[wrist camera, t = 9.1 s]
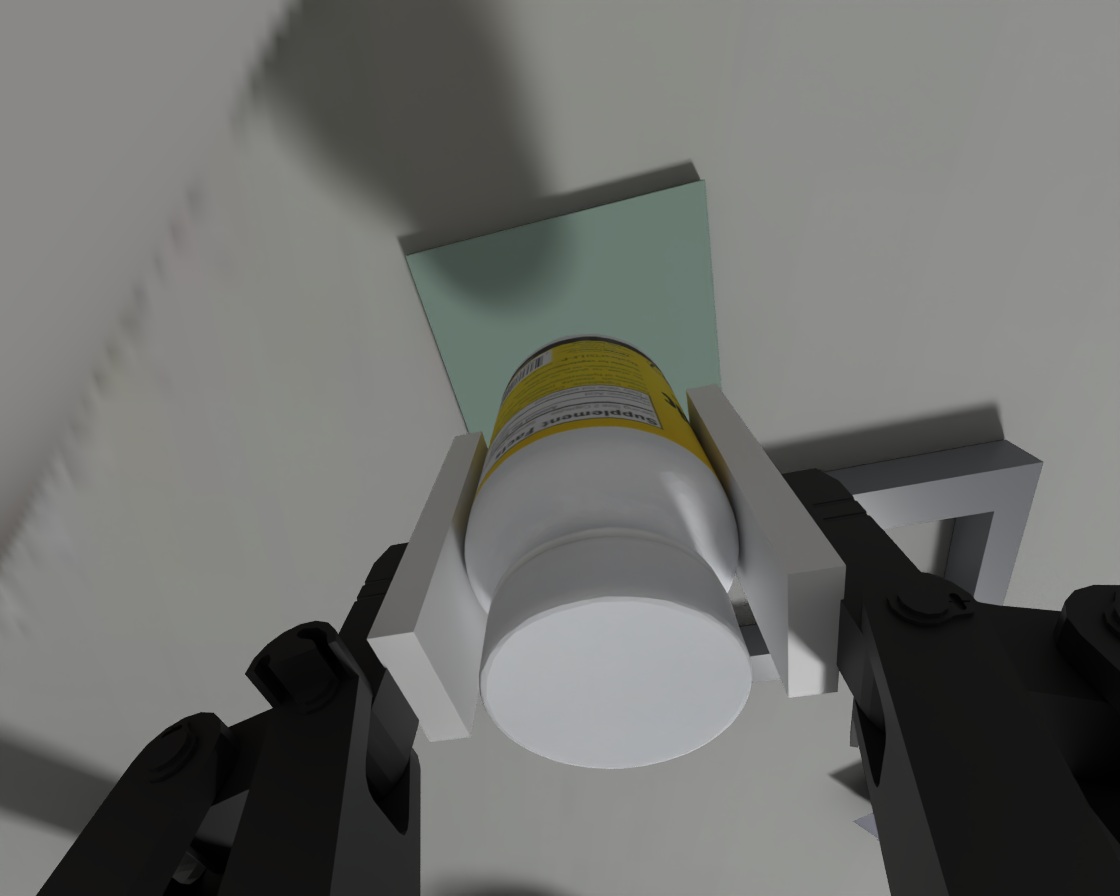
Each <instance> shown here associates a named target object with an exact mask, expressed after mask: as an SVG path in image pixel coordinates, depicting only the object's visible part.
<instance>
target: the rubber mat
mask: <svg viewBox="0 0 1120 896" xmlns="http://www.w3.org/2000/svg"><path fill="white" fill-rule="evenodd" d="M406 259H407V262H408V265H409V267H410V270H411V273H412V276H413V278H414V281H415V284H416V287H417V290H418V292H419V295H420V298H421V301H422V303H423V306H424V309H425V312H426V315H427V317H428V320H429V323H430V326H431V328H432V331H433V334H434V337H435V339H436V342H437V345H438V348H439V351H440V353H441V356H442V359H443V362H444V364H445V367H446V370H447V373H448V376H449V378H450V381H451V384H452V387H453V389H454V392H455V395H456V398H457V400H458V403H459V406H460V409H461V412H462V414H463V417H464V420H465V423H466V425H467V428H468V431H469V434H471V433H476V432H481V431H482V433H483V436H484V439H485V442H486V444H487V447H488V448H489V445H490V440H491V437H492V434H493V430H494V425H495V423H496V419H497V415H498V411H499V408H500V404H501V401H502V397H503V394H504V392H505V389H506V387H507V385H508V383H509V381H510V379H511V377H512V375H513V374H514V372H515V371H516V369H517V368H518V367H519V365H520V364H521V363H522V362H523V361H524V360H525V359H526V358H527V357H528V356H529V355H530V354H532V353H533V352H534V351H536V350H537V349H539V348H540V347H542V346H543V345H545V344H547V343H549V342H551V341H554V340H556V339H559V338H562V337H567V336H571V335H578V334H600V335H606V336H611V337H615V338H618V339H621V340H623V341H626V342H628V343H630V344H632V345H634V346H636V347H637V348H639V349H640V350H641V351H643V352H644V353H645V354H647V355H648V356H649V357H650V358H651V359H652V360H653V361H654V362H655V364H656V365H657V366H658V367H659V369H660V370H661V372H662V373H663V375H664V376H665V378H666V380H667V381H668V383H669V384H670V386H671V388H672V390H673V392H674V394H675V396H676V398H677V400H678V402H679V404H680V406H681V408H682V410H683V412H684V414H685V416H686V418H687V420H688V421H689V414H688V405H687V396H686V389H691V388H696V387H701V386H706V385H711V384H717V385H718V387H719V388H720V390H721V378H720V365H719V352H718V339H717V327H716V314H715V301H714V288H713V275H712V262H711V249H710V237H709V224H708V211H707V198H706V185H705V180H698V181H694V182H690V183H686V184H682V185H678V186H674V187H671V188H667V189H663V190H659V191H655V192H651V193H647V194H643V195H639V196H635V197H631V198H628V199H624V200H620V201H616V202H612V203H608V204H604V205H600V206H596V207H592V208H588V209H585V210H581V211H577V212H573V213H569V214H565V215H561V216H557V217H553V218H549V219H545V220H542V221H538V222H534V223H530V224H526V225H522V226H518V227H514V228H510V229H506V230H503V231H499V232H495V233H491V234H487V235H483V236H479V237H475V238H471V239H467V240H463V241H460V242H456V243H452V244H448V245H444V246H440V247H436V248H432V249H428V250H424V251H420V252H417V253H413V254H409V255H407V256H406ZM689 423H690V422H689Z"/></svg>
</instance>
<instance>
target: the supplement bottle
mask: <svg viewBox="0 0 1120 896" xmlns="http://www.w3.org/2000/svg"><path fill="white" fill-rule="evenodd" d="M738 556H739V535H738V528H737V523H736V519H735V515H734V512H733V509H732V507H731V504H730V502H729V500H728V497H727V495H726V493H725V490H724V488H723V486H722V484H721V482H720V480H719V478H718V476H717V475H716V473H715V471H714V469H713V467H712V465H711V463H710V461H709V460H708V458H707V456H706V454H705V452H704V450H703V448H702V447H701V445H700V443H699V441H698V439H697V437H696V435H695V432H694V430H693V429H692V427H691V425H690V423H689V421H688V420H687V418H686V416H685V414H684V412H683V410H682V408H681V406H680V404H679V402H678V400H677V398H676V396H675V394H674V392H673V390H672V388H671V386H670V384H669V383H668V381H667V380H666V378H665V376H664V375H663V373H662V372H661V370H660V369H659V367H658V366H657V365H656V364H655V362H654V361H653V360H652V359H651V358H650V357H649V356H648V355H647V354H645V353H644V352H643V351H641V350H640V349H639V348H637V347H636V346H634V345H632V344H630V343H628V342H626V341H623V340H621V339H618V338H615V337H611V336H606V335H600V334H578V335H571V336H567V337H562V338H559V339H556V340H554V341H551V342H549V343H547V344H545V345H543V346H542V347H540V348H539V349H537V350H536V351H534V352H533V353H532V354H530V355H529V356H528V357H527V358H526V359H525V360H524V361H523V362H522V363H521V364H520V365H519V367H518V368H517V369H516V371H515V372H514V374H513V375H512V377H511V379H510V381H509V383H508V385H507V387H506V389H505V392H504V394H503V397H502V401H501V404H500V408H499V411H498V415H497V419H496V423H495V425H494V430H493V434H492V437H491V440H490V445H489V448H488V452H487V455H486V459H485V463H484V466H483V471H482V474H481V478H480V480H479V484H478V488H477V491H476V495H475V498H474V502H473V505H472V508H471V512H470V516H469V521H468V526H467V532H466V537H465V563H466V570H467V574H468V578H469V581H470V584H471V587H472V589H473V591H474V594H475V596H476V598H477V599H478V601H479V603H480V605H481V606H482V608H483V609H484V610H485V612H486V613H487V615H488V618H487V624H486V630H485V637H484V643H483V650H482V656H481V663H480V670H479V688H480V695H481V698H482V701H483V704H484V707H485V709H486V711H487V713H488V714H489V716H490V717H491V719H492V720H493V722H494V723H495V724H496V726H497V727H498V728H499V729H500V730H501V731H502V732H503V733H505V734H506V735H507V736H508V737H509V738H510V739H511V740H513V741H514V742H516V743H517V744H519V745H521V746H522V747H524V748H526V749H527V750H529V751H531V752H534V753H536V754H538V755H540V756H543V757H545V758H548V759H551V760H554V761H558V762H561V763H565V764H570V765H575V766H582V767H589V768H603V769H619V768H629V767H639V766H645V765H650V764H655V763H659V762H664V761H668V760H670V759H673V758H676V757H679V756H682V755H685V754H687V753H689V752H691V751H694V750H696V749H698V748H700V747H701V746H703V745H705V744H706V743H708V742H709V741H711V740H712V739H714V738H715V737H717V736H718V735H719V734H721V733H722V732H723V731H724V730H725V729H726V728H727V727H729V726H730V724H731V723H732V722H733V721H734V720H735V719H736V718H737V716H738V715H739V713H740V712H741V710H742V709H743V707H744V705H745V703H746V701H747V698H748V696H749V693H750V688H751V682H752V665H751V660H750V655H749V652H748V649H747V647H746V644H745V641H744V639H743V636H742V633H741V631H740V628H739V625H738V623H737V620H736V617H735V613H734V610H733V606H732V603H731V600H730V598H729V596H728V594H727V593H728V591H729V589H730V587H731V584H732V582H733V579H734V576H735V572H736V568H737V564H738Z"/></svg>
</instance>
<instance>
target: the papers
mask: <svg viewBox="0 0 1120 896" xmlns="http://www.w3.org/2000/svg"><path fill="white" fill-rule="evenodd" d="M854 822H855V823H856V824H858V825H859V826H861V827H862V828H864V829H865V830H867V831H868V832H870V833H871V834H872V835H874V836H875V837H877V838H878V839H877V840H878V841H879V837H878V832H877V828H876V823H875V818H874V814H873V813H872V814H869V815H867V816H864V817H862V818H859V819H857V820H855V821H854Z"/></svg>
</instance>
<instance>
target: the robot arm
mask: <svg viewBox="0 0 1120 896" xmlns="http://www.w3.org/2000/svg"><path fill="white" fill-rule="evenodd" d="M686 396H687V405H688V414H689V422H690V425H691V427H692V429H693V430H694V432H695V435H696V437H697V439H698V441H699V443H700V445H701V447H702V448H703V450H704V452H705V454H706V456H707V458H708V460H709V461H710V463H711V465H712V467H713V469H714V471H715V473H716V475H717V476H718V478H719V480H720V482H721V484H722V486H723V488H724V490H725V493H726V495H727V497H728V500H729V502H730V504H731V507H732V509H733V512H734V515H735V519H736V523H737V528H738V535H739V556H738V564H737V568H736V574H737V577H738V579H739V581H740V584H741V586H742V589H743V591H744V593H745V596H746V598H747V600H748V603H749V605H750V608H751V610H752V612H753V615H754V617H755V619H756V622H757V624H758V626H759V629H760V631H761V634H762V636H763V638H764V641H765V643H766V645H767V648H768V650H769V653H770V655H771V657H772V660H773V662H774V664H775V667H776V669H777V671H778V674H779V676H780V679H781V681H782V683H783V686H784V688H785V690H786V693H787V695H788V698H790V697H799V696H807V695H815V694H823V693H831V692H838V677H839V670H840V672H841V674H842V676H843V678H844V680H845V681H846V683H847V685H848V687H849V689H850V691H851V692H852V694H853V696H854V699H853V710H852V720H851V731H850V746H852V747H858V745H859V749H860V753H861V758H862V763H863V767H864V772H865V777H866V781H867V786H868V791H869V795H870V800H871V804H872V809H873V814H874V818H875V823H876V828H877V832H878V837H879V842H880V846H881V851H882V856H883V860H884V865H885V870H886V874H887V879H888V883H889V888H890V893H891V896H1120V585H1092V586H1088V587H1085V588H1081V589H1078V590H1075V591H1074V592H1073V593H1072V594H1071V595H1070V596H1069V597H1068V598H1067V600H1066V601H1065V603H1064V605H1063V608H1062V611H1052V610H1041V609H1031V608H1020V607H1010V606H1000V605H994V604H988V603H982V602H978V601H976V600H975V599H974V597H973V596H972V595H971V594H970V593H968V592H967V591H965V590H964V589H962V588H961V587H959V586H957V585H956V584H954V583H953V582H951V581H949V580H946V579H943V578H940V577H938V576H935V575H932V574H930V573H923V572H920V571H919V570H918V569H917V567H916V566H915V565H914V564H913V563H912V562H911V561H910V560H909V558H908V557H907V556H906V555H905V554H904V553H903V552H902V551H901V549H900V548H899V547H898V546H897V545H896V544H895V543H894V542H893V540H892V539H891V538H890V537H889V536H888V535H887V534H886V533H885V531H884V530H883V529H882V528H881V527H880V526H879V525H878V524H877V523H876V521H875V520H874V519H873V518H872V517H871V516H870V515H867V511H866V510H865V509H864V508H863V507H862V506H861V505H860V503H859V502H858V501H855V500H854V497H853V496H852V494H851V493H850V492H849V491H848V490H847V489H846V488H845V487H844V486H843V484H842V483H841V482H840V481H839V480H837V479H835V478H833V477H831V476H829V475H827V474H826V473H824V472H822V471H820V470H818V469H816V468H814V469H809V470H803V471H797V472H792V473H786V474H780V472H779V471H778V469H777V468H776V467H775V465H774V464H773V462H772V461H771V460H770V458H769V457H768V455H767V454H766V453H765V451H764V450H763V448H762V447H761V446H760V444H759V443H758V441H757V440H756V439H755V437H754V436H753V434H752V433H751V432H750V430H749V429H748V427H747V426H746V425H745V423H744V422H743V420H742V419H741V418H740V416H739V415H738V413H737V412H736V411H735V409H734V408H733V406H732V405H731V404H730V402H729V401H728V399H727V398H726V397H725V395H724V394H723V392H722V391H721V390H720V388H719V387H718V385H717V384H711V385H706V386H701V387H696V388H691V389H686ZM487 452H488V447H487V444H486V442H485V439H484V436H483V433H482V431H481V432H476V433H471V434H466V435H461V436H456V437H455V438H454V440H453V443H452V445H451V447H450V449H449V452H448V454H447V456H446V459H445V461H444V463H443V465H442V468H441V470H440V472H439V475H438V477H437V479H436V481H435V484H434V486H433V488H432V491H431V493H430V495H429V497H428V500H427V502H426V504H425V507H424V509H423V511H422V513H421V516H420V518H419V520H418V523H417V525H416V527H415V529H414V532H413V534H412V536H411V539H410V541H409V542H408V543H403V544H397V545H391V546H390V547H389V548H388V549H387V550H386V551H385V552H384V553H383V554H382V556H381V557H380V558H379V559H378V560H377V561H376V562H375V563H374V565H373V567H372V569H371V571H370V573H369V575H368V577H367V579H366V580H365V585H364V586H362V588H361V590H360V592H359V594H358V596H357V601H356V602H354V604H353V606H352V608H351V610H350V612H349V614H348V616H347V618H346V620H345V622H344V624H343V626H342V628H341V630H340V632H339V634H338V633H337V632H336V630H335V629H334V628H333V627H332V626H331V625H330V624H329V623H328V622H321V621H313V622H308V623H304V624H300V625H298V626H296V627H294V628H292V629H290V630H288V631H286V632H284V633H282V634H281V635H279V636H278V637H277V638H275V639H274V640H273V641H271V642H270V643H269V644H267V645H266V646H265V647H264V648H263V650H262V651H261V652H260V653H259V654H258V655H257V656H256V657H255V658H254V659H253V661H252V663H251V664H250V666H249V668H248V670H247V671H246V673H245V675H246V676H247V677H248V678H249V679H250V681H251V682H252V683H253V684H254V685H255V687H256V688H257V689H258V690H259V691H260V693H261V694H262V695H263V696H264V697H265V699H266V700H267V701H268V702H269V703H270V705H271V706H272V707H273V708H272V709H270V710H267V711H265V712H263V713H260V714H258V715H256V716H254V717H251V718H249V719H247V720H244V721H242V722H240V723H237V724H235V725H233V726H230V727H227V726H226V725H225V724H224V723H223V722H222V721H221V720H220V719H219V718H218V717H217V716H216V715H215V714H214V713H206V712H200V713H197V714H194V715H191V716H188V717H186V718H183V719H182V720H180V721H178V722H177V723H175V724H173V725H172V726H170V727H168V728H167V729H165V730H164V731H163V732H162V733H160V734H159V735H158V736H157V737H156V738H155V739H153V740H152V741H151V742H150V743H149V744H148V745H147V746H146V747H145V748H144V749H143V750H142V751H141V753H140V754H139V755H138V756H137V757H136V758H135V760H134V761H133V762H132V763H131V765H130V766H129V767H128V769H127V770H126V772H125V773H124V774H123V776H122V777H121V778H120V780H119V781H118V783H117V784H116V785H115V787H114V788H113V790H112V791H111V792H110V794H109V795H108V797H107V798H106V799H105V801H104V802H103V803H102V805H101V806H100V808H99V809H98V810H97V812H96V813H95V815H94V816H93V817H92V819H91V820H90V821H89V823H88V824H87V826H86V827H85V828H84V830H83V831H82V833H81V834H80V835H79V837H78V838H77V840H76V841H75V842H74V844H73V845H72V846H71V848H70V849H69V851H68V852H67V853H66V855H65V856H64V858H63V859H62V860H61V862H60V863H59V864H58V866H57V867H56V869H55V870H54V871H53V873H52V874H51V876H50V877H49V878H48V880H47V881H46V883H45V884H44V885H43V887H42V888H41V889H40V891H39V892H38V894H37V895H36V896H420V764H419V759H418V755H417V754H416V752H415V751H414V749H413V748H412V746H413V742H414V738H415V735H416V731H417V727H418V724H419V725H420V727H421V728H422V730H423V731H424V733H425V735H426V736H427V738H428V739H429V741H430V742H434V741H442V740H451V739H459V738H467V737H471V733H472V727H473V721H474V716H475V710H476V704H477V698H478V693H479V670H480V663H481V656H482V650H483V643H484V637H485V630H486V624H487V618H488V615H487V613H486V612H485V610H484V609H483V608H482V606H481V605H480V603H479V601H478V599H477V598H476V596H475V594H474V591H473V589H472V587H471V584H470V581H469V578H468V574H467V570H466V563H465V537H466V532H467V526H468V521H469V516H470V512H471V508H472V505H473V502H474V498H475V495H476V491H477V488H478V484H479V480H480V478H481V474H482V471H483V466H484V463H485V459H486V455H487Z"/></svg>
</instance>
